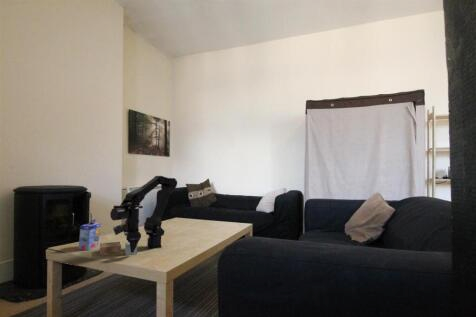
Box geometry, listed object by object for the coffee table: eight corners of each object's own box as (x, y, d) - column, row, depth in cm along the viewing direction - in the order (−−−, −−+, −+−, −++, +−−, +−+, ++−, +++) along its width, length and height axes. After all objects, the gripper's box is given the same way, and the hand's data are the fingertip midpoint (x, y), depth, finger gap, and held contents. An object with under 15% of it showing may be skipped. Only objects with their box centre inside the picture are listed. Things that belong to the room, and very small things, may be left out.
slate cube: (135, 251, 129) (136, 241, 130) (137, 254, 125) (137, 243, 125) (124, 252, 127) (125, 242, 127) (125, 255, 122) (126, 244, 123)
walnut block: (119, 249, 134) (119, 241, 134) (120, 253, 126) (121, 245, 126) (99, 251, 130) (100, 243, 130) (99, 256, 122) (100, 247, 122)
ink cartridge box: (88, 250, 130) (90, 221, 131) (77, 250, 130) (79, 221, 132) (99, 245, 140) (101, 218, 141) (89, 245, 140) (91, 218, 141)
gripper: (113, 216, 132) (112, 247, 130) (115, 221, 115) (113, 257, 114) (136, 215, 137) (135, 245, 136) (141, 220, 120) (140, 254, 119)
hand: (131, 250), depth 126 cm, fingers open, 9 cm apart
